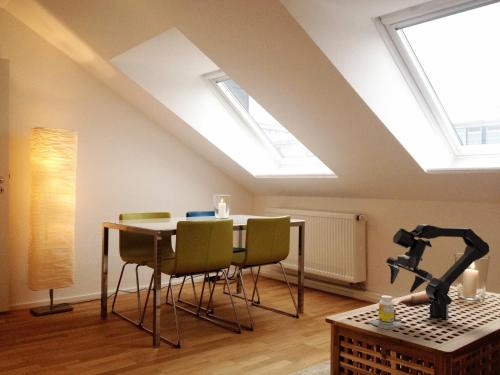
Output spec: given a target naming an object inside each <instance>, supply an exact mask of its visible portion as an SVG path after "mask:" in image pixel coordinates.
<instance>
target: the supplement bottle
mask: <svg viewBox="0 0 500 375" xmlns="http://www.w3.org/2000/svg"><path fill="white" fill-rule="evenodd" d="M378 309H379V310H378V320H379V322H380V323H382V324H388V325H389V324H393V323H394V309H395V302H394V301H393V296H390V295H381V299H380V300H379V303H378Z"/></svg>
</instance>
